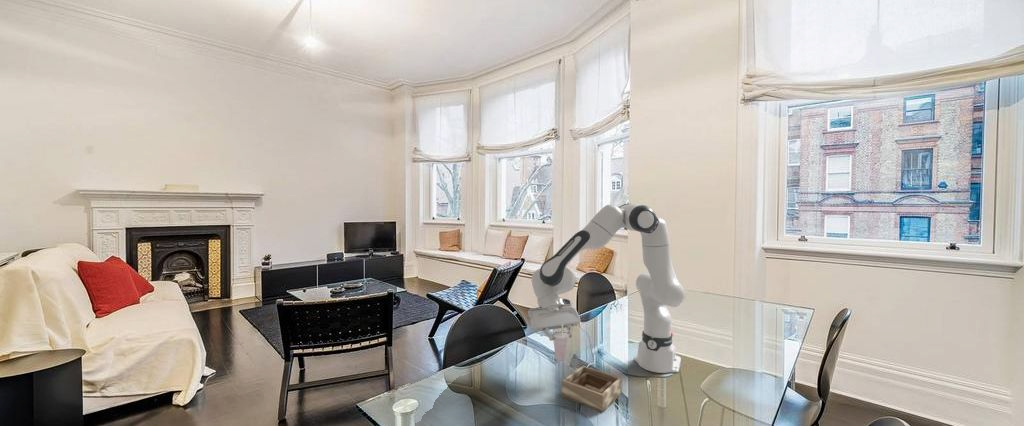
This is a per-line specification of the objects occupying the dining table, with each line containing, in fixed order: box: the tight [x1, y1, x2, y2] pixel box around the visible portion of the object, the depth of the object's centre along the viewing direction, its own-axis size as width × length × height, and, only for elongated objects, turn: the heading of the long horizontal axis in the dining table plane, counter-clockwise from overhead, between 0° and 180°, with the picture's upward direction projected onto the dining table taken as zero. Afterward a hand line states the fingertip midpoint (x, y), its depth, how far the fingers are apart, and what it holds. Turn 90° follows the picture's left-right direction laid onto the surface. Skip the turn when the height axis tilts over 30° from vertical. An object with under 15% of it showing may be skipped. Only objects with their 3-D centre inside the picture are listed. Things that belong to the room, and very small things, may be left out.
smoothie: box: [552, 323, 570, 362], centre depth 154 cm, size 6×6×14 cm
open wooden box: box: [561, 365, 623, 413], centre depth 146 cm, size 16×16×6 cm
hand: (561, 338), depth 153 cm, fingers closed on smoothie, 6 cm apart
